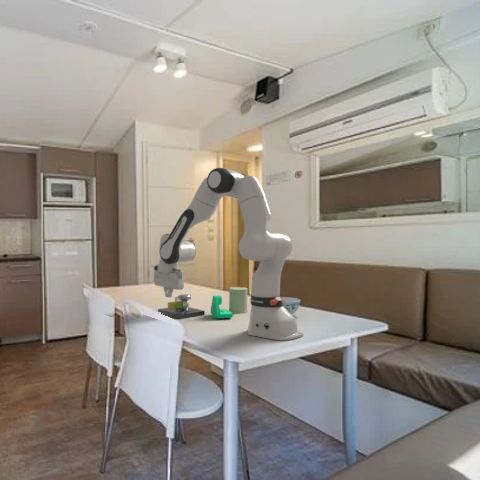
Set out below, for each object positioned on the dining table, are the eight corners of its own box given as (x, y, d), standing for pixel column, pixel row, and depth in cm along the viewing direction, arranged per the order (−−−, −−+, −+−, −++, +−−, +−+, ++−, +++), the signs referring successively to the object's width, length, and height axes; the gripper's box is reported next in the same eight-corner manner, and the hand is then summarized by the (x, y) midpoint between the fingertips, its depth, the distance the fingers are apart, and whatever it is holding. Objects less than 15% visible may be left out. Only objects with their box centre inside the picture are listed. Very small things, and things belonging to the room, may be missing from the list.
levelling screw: (186, 308, 198) (186, 294, 198) (193, 310, 194) (193, 295, 194) (165, 311, 190) (165, 296, 190) (172, 313, 186) (172, 298, 186)
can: (250, 310, 206) (250, 286, 206) (242, 314, 198) (243, 289, 198) (233, 309, 210) (234, 285, 210) (225, 312, 202) (225, 287, 201)
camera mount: (233, 319, 186) (233, 296, 186) (217, 320, 184) (217, 297, 183) (226, 314, 197) (226, 293, 197) (210, 315, 195) (210, 293, 195)
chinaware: (276, 311, 204) (276, 296, 204) (305, 315, 197) (305, 298, 197) (262, 316, 192) (262, 300, 191) (292, 320, 184) (292, 303, 184)
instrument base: (204, 315, 194) (204, 298, 194) (180, 319, 185) (180, 301, 185) (182, 309, 207) (182, 294, 207) (158, 313, 198) (158, 297, 198)
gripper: (187, 269, 189) (186, 299, 190) (162, 265, 204) (162, 293, 204) (175, 270, 185) (175, 300, 185) (151, 266, 200) (151, 295, 200)
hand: (168, 297), depth 195 cm, fingers closed
